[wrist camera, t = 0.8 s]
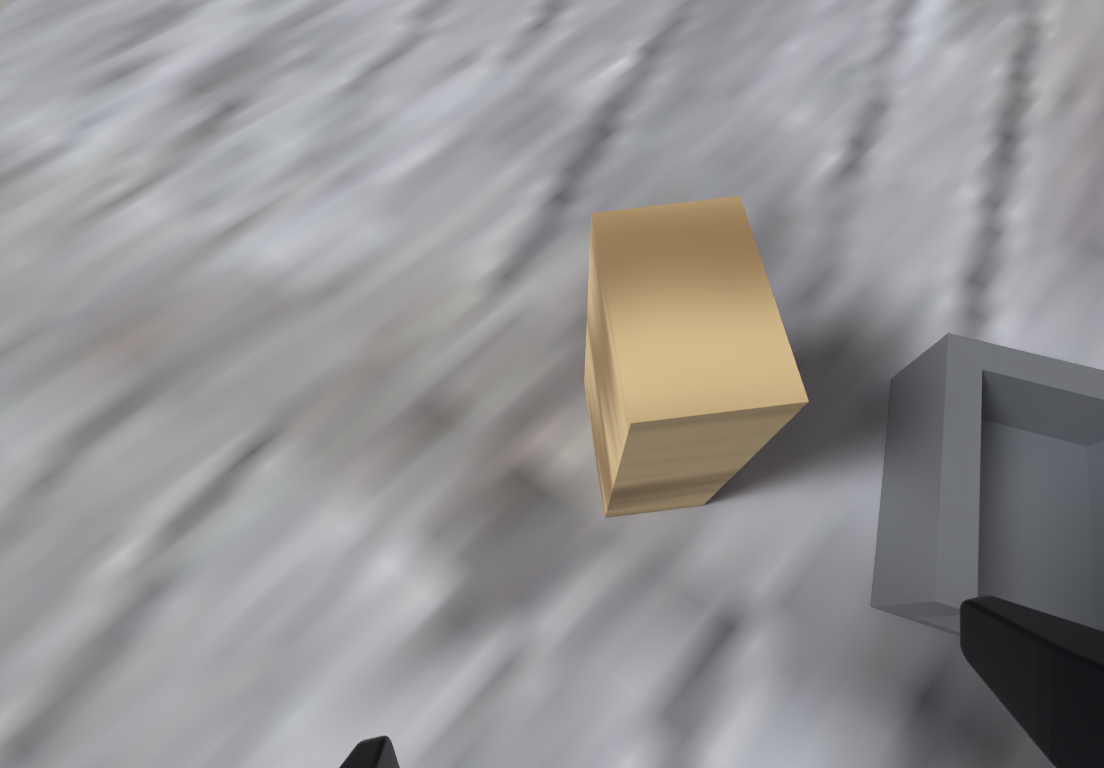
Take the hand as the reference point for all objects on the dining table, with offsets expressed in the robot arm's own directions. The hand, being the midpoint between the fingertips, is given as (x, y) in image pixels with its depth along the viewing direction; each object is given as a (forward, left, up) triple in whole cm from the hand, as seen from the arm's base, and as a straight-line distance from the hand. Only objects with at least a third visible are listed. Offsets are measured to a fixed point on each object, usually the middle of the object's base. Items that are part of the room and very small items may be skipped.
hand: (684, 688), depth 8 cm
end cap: (-6, -14, -13) cm, 20 cm away
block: (+5, -6, -13) cm, 15 cm away
